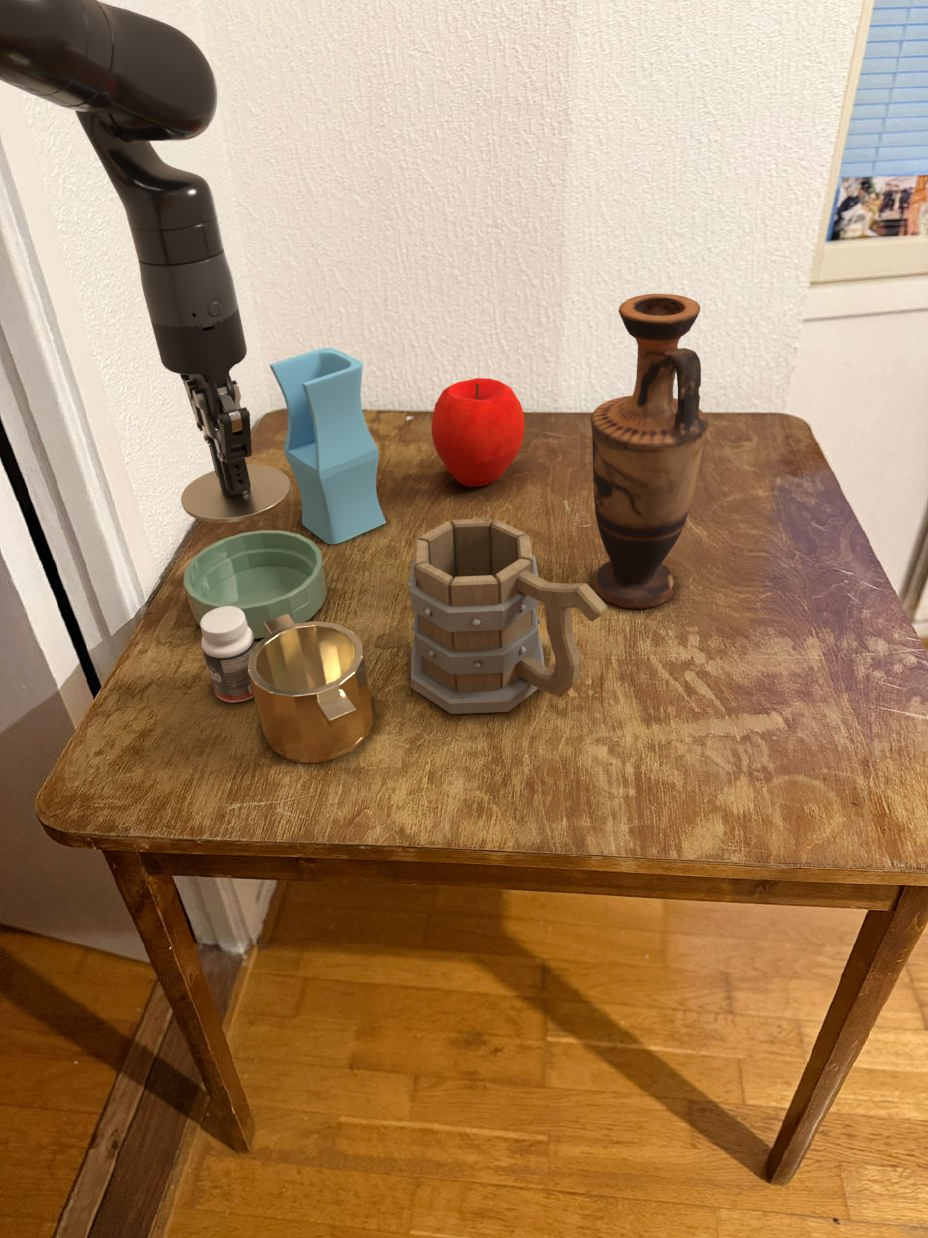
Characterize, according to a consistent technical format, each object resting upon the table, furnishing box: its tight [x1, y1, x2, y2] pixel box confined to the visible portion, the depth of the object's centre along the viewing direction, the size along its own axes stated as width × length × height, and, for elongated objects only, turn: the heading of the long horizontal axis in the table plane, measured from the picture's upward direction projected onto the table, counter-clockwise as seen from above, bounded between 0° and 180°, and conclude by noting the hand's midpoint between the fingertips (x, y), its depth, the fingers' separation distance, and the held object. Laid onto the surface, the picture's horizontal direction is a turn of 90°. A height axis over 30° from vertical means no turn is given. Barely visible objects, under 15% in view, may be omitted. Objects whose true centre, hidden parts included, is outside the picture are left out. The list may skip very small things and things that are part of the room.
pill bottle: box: [199, 606, 257, 703], centre depth 82 cm, size 5×5×8 cm
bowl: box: [183, 529, 328, 640], centre depth 95 cm, size 14×14×4 cm
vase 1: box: [269, 347, 387, 545], centre depth 102 cm, size 8×8×20 cm
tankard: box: [407, 517, 608, 715], centre depth 79 cm, size 20×13×15 cm, turn 46°
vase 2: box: [590, 293, 709, 610], centre depth 86 cm, size 11×11×30 cm
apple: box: [430, 377, 525, 488], centre depth 110 cm, size 12×12×13 cm
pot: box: [248, 614, 374, 764], centre depth 78 cm, size 10×15×8 cm, turn 30°
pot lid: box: [180, 439, 292, 524], centre depth 86 cm, size 11×11×7 cm
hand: (233, 483), depth 87 cm, fingers closed on pot lid, 3 cm apart
